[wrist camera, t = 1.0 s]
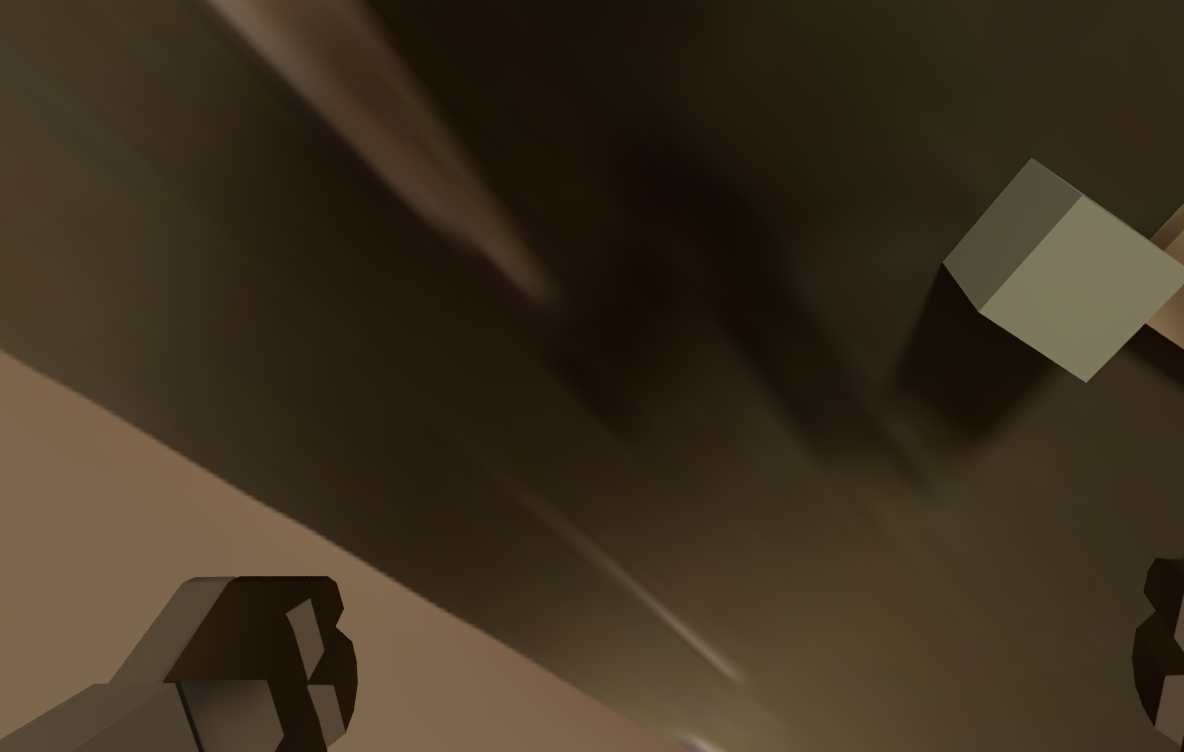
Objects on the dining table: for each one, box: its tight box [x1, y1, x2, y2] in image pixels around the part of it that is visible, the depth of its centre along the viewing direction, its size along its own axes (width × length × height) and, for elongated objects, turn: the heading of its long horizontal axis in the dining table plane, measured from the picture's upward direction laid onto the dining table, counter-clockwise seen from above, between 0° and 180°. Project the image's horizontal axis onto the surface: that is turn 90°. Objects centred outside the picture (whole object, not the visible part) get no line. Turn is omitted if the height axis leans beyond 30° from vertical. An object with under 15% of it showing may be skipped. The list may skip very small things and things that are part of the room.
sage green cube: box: [943, 158, 1184, 382], centre depth 42 cm, size 6×6×6 cm
